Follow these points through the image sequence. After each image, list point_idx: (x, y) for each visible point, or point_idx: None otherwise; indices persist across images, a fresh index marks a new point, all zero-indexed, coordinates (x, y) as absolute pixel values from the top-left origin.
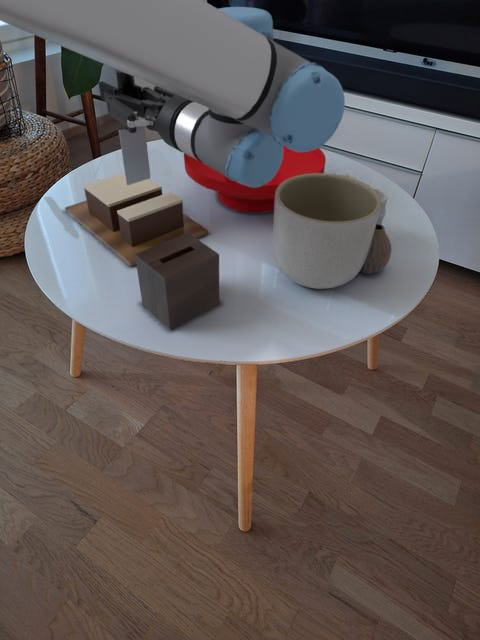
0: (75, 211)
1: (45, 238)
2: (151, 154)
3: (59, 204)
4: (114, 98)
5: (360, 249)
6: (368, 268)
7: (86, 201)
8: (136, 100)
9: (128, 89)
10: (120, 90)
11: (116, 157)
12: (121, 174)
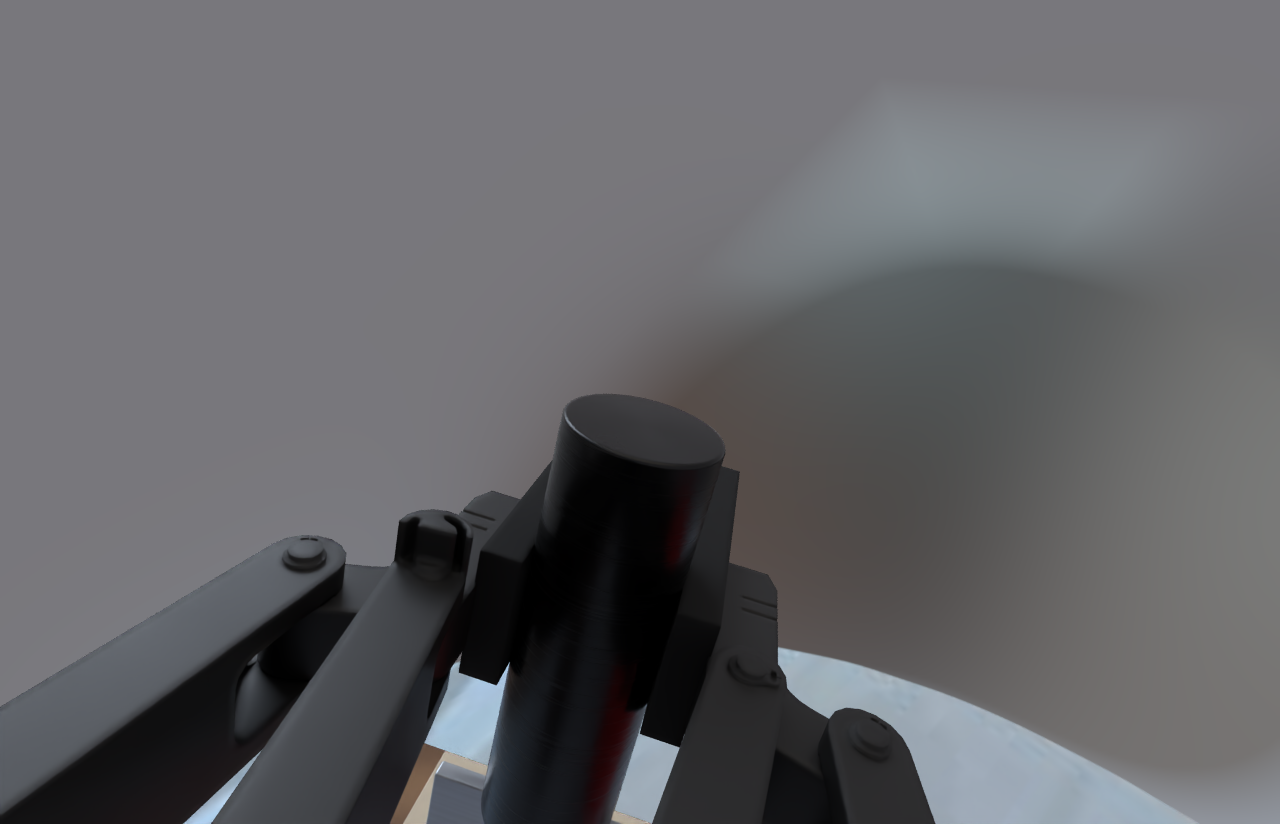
0: (410, 792)
1: (191, 821)
2: (916, 743)
3: (454, 708)
4: (297, 591)
5: None
6: None
7: None
8: (305, 813)
9: (571, 584)
10: (521, 550)
11: (802, 670)
12: (623, 820)
